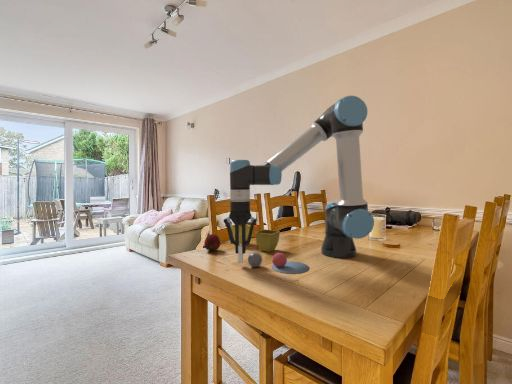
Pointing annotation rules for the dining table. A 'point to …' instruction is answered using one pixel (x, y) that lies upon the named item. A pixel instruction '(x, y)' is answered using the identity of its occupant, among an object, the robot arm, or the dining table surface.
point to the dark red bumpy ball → (212, 242)
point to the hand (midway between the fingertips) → (240, 261)
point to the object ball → (279, 260)
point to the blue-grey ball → (254, 259)
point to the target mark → (292, 267)
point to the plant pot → (240, 232)
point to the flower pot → (267, 239)
